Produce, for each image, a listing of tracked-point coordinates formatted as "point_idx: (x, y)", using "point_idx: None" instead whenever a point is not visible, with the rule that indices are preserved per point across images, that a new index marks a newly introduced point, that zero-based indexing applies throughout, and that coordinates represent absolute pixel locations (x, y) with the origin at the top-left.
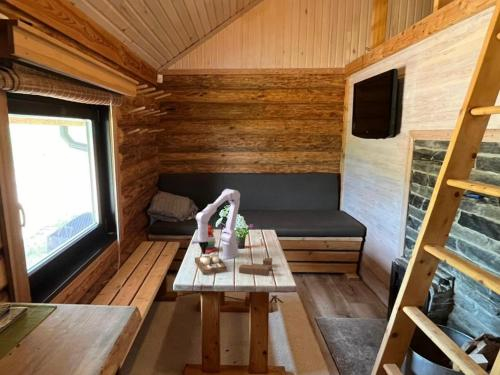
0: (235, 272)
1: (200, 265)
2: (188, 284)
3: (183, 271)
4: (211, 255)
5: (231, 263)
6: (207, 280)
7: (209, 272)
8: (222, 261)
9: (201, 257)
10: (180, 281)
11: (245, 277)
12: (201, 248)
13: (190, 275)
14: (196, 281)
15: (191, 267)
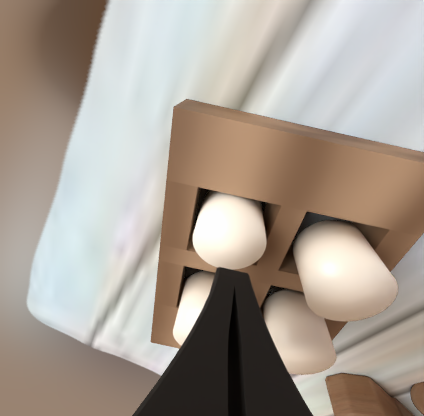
0: None
1: (157, 293)
2: (69, 334)
3: (54, 216)
4: (308, 301)
5: (415, 295)
6: (157, 350)
7: None
8: (340, 328)
9: (220, 212)
10: (34, 301)
11: (310, 402)
12: (200, 336)
13: (91, 281)
14: (108, 334)
15: (122, 190)
